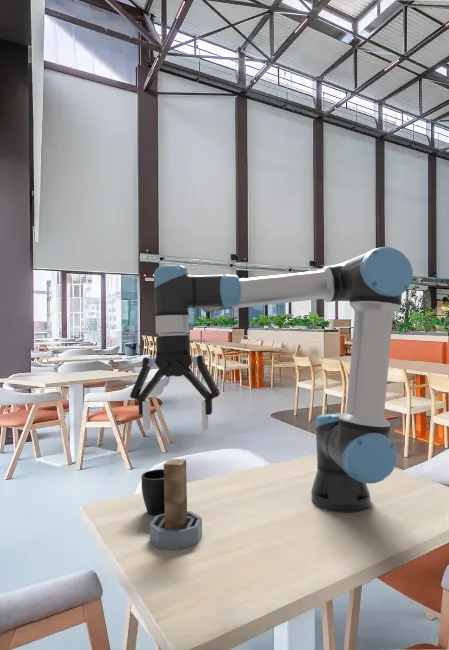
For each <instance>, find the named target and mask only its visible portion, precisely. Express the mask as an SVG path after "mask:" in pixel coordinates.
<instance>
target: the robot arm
mask: <svg viewBox="0 0 449 650" xmlns="http://www.w3.org/2000/svg"><path fill="white" fill-rule="evenodd" d="M413 277H414V272H413V267H412V264H411V261H410V260H409V258H408V257H406V255H405V253H403V252H402V251H401V250H398V249H397V248H394V247H390V246H381V247H378V248H377V247H375V248H371V249H368V250H367V251H366V252H365V253H363V254H360V255H358V256H356V257H353V258H351V259H349V260H346V261H344V262H342V263H338V264H334V265H333V264H332V265H326V266H325V265H324V266H322V268H321V269H320V270H315V271H304V272H296V273H286V274H275V275H268V276H267V275H265V276H255V277H247V278H240V277H239V276H238V275H236V274H227V273H222V274H202V275H201V274H200V275H199V274H198V275H194V274H193V275H192V274H189V272H188V268H187V267H186V266H184V265H176V264H175V265H173V264H172V265H161V266H159V267H157V268H156V269H155V270H154V287H153V288H154V308H155V309H154V311H155V334H156V335H158V336H157V337H156V338H155V340H156V342H155V345H156V357H151V356H144V357H143V358H142V365H141V366H142V368H141V369H140V372H139V374H138V376H137V379H136V381H135V383H134V385H133V387H132V390H131V392H130V394H129V397H130V399H134V400H137V402H138V414H139V416H142V429H143V431H144V432H147V431H148V430H150V429H151V402H150V399H148V396H149V395H151V393H152V392H153V390H154V389H155V387H156V386H157V385H158V383H160V381H161V380H162V378H164V377H169V378H170V377H182V376H184V378H186V379H187V381H188V382H190V383H191V385H192V386H193V387H194V388H195V390H197V392H199V394H200V395H201V396H202V398H203V399H202V400H201V418H202V419H201V427H202V431H203V432H206V431H207V430H208V429H209V416H210V415H212V414H213V399H215V398H218V397H219V396H220V394H221V392H220V390H219V388H218V386H217V384H216V382H215V381H214V379H213V378H214V377H212V375H211V373H210V371H209V369H208V367H207V365H206V360H205V356H204V355H202V354H201V355H197V356H192V355H191V344H190V343H191V340H190V339H191V338H190V336H189V335H188V333H190V315H189V313H190V312H189V310H190V309H201V310H203V312H206V313H215V312H218V311H222V310H223V311H224V310H225V311H226V310H232V309H241V308H250V307H259V306H260V307H261V306H269V305H276V304H277V305H278V304H286V303H296V302H306V301H313V300H315V301H316V300H324V301H325V302H326V303H331V302H349V306H350V307H351V308H352V309H353V310H354V320H353V321H354V322H353V331H352V343H351V352H350V363H349V364H350V366H349V375H348V376H349V377H348V386H347V398H346V409H345V411H344V412H342V413H327V414H320V415H318V416H317V417H316V421H315V423H316V424H315V432H316V434H315V435H316V436H315V437H316V439H315V440H316V461H317V462H316V463H317V464H316V465H317V467H316V469H317V470H316V475H315V477H314V479H313V480H314V481H313V483H312V484H313V485H312V487H311V494H310V495H311V502H312V503H313V504H314V505H316V506H317V507H319V508H321V509H324V510H327V511H332V512H338V513H340V512H341V513H351V512H352V513H353V512H355V513H356V512H360V511H363V510H366V509H368V508H369V507H370V506H371V494H370V493H371V492H370V490H369V487H368V485H367V484H369V485H370V484H376V483H380V482H382V481H384V480H385V479H386V478H387V477H389V476H390V475H391V474H392V473H393V472H394V470H395V468H396V465H397V461H398V452H397V448H396V446H395V445H394V443H393V441H392V440H391V439H390V435H391V432H390V431H391V423H390V421H388V420H387V418H386V417H385V408H386V397H387V395H386V394H387V387H388V385H387V384H388V376H389V375H388V374H389V365H390V364H389V363H390V352H391V350H390V349H391V342H392V330H393V319H394V314H395V313H396V312H397V311H398V310H400V309H401V306H402V298H403V297H402V295H403V293H405V292H406V291H407V290H408V289H409V288H410V286H411V284H412V281H413ZM192 363H194V365H195V366H196V367H197V369H198V370H199V372H200V374H201V376H202V378H203V380H204V381H205V383H206V385H207V387H208V388H207V387H206V386H205V385H204V384H203V382H201V381H200V379H199V378H198V377H197V376H196V375H195V373H194V371H193V370H192V369H191V368H190V366H191V365H192ZM154 365H156V366H157V368H158V370H157V371H156V372H155V373H154V376H153V377H152V378H151V379H150V380H149V382H148V384H147V385H146V386H145V387H144V389H143V390H142V388H143V386H144V384H145V382H146V380H147V378H148V375H149V373H150V371H151V368H152V367H153V366H154ZM208 389H209V390H208Z"/></svg>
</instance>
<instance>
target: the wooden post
mask: <svg viewBox="0 0 449 650" xmlns="http://www.w3.org/2000/svg"><path fill="white" fill-rule="evenodd" d="M163 469H164V504H165V528H173V529H185V528H186V527H187V511H188V495H187V494H188V490H187V489H188V487H187V486H188V485H187V483H188V481H187V459H183V458H182V459H181V458H180V459H179V458H169V459H167V460H166V462H164V464H163Z"/></svg>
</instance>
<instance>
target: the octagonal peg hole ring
mask: <svg viewBox="0 0 449 650" xmlns="http://www.w3.org/2000/svg"><path fill="white" fill-rule="evenodd" d="M202 535H203V518H202V517H201V516H199V515H198V514H196V513H194V512H193V511H189V510H187V527H186V528H185V529H173V528H165V513H164V514H160V515H157V516H154V517H153V519H152V520H151V521H150V523H149V541H150V542H151V543H152V544H154V545H155V546H156V547H157V548H158V549H164V550H179V551H180V550H182V549H185V548H187V547H191V546H194V545H197V544H198V543H199V541H200V539H201V537H202Z"/></svg>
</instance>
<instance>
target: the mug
mask: <svg viewBox="0 0 449 650" xmlns="http://www.w3.org/2000/svg"><path fill="white" fill-rule="evenodd" d="M141 492H142V498H143V501H144V505H145V508H146V511H147V514H148V515H149V516H153V517H155V516H157V515H160V514H164V513H165V504H164V468H163V469H152V470H147V471H145V472H143V473H142V474H141Z"/></svg>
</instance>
